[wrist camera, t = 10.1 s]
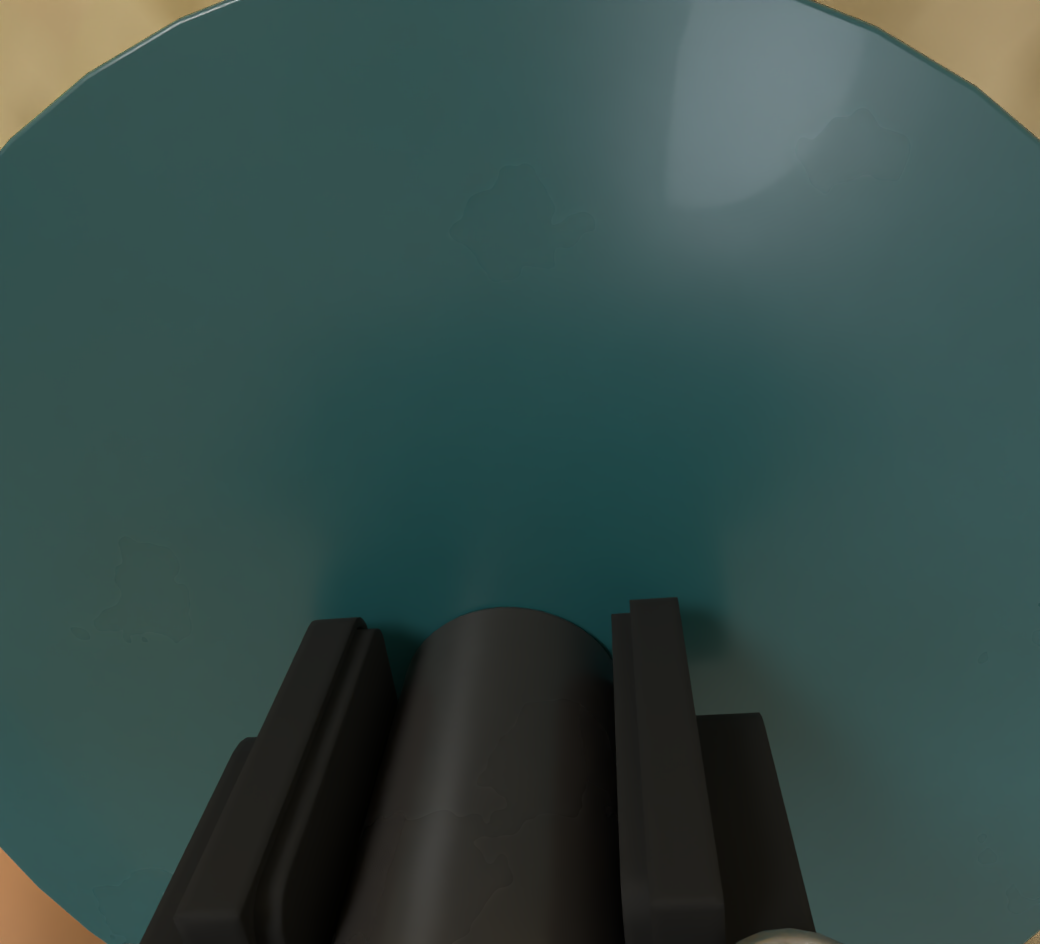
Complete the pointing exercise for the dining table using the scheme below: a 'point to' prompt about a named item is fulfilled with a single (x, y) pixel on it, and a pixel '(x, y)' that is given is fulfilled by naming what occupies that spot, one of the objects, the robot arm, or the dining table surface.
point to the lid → (525, 446)
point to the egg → (34, 912)
